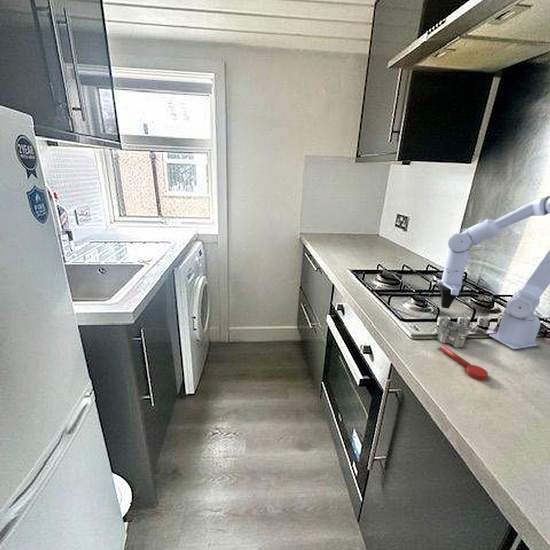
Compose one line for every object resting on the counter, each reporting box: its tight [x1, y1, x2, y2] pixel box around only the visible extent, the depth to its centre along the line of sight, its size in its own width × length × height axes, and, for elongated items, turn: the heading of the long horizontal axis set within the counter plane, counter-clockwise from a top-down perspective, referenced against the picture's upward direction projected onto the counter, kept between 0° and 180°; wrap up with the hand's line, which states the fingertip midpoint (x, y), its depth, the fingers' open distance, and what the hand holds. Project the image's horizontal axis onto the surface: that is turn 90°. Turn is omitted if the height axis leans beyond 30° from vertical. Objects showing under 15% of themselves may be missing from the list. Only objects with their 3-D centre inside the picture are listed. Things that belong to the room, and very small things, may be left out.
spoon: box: [439, 344, 489, 381], centre depth 79 cm, size 4×14×1 cm, turn 16°
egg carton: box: [436, 318, 470, 348], centre depth 91 cm, size 11×8×4 cm
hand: (444, 307), depth 103 cm, fingers closed
